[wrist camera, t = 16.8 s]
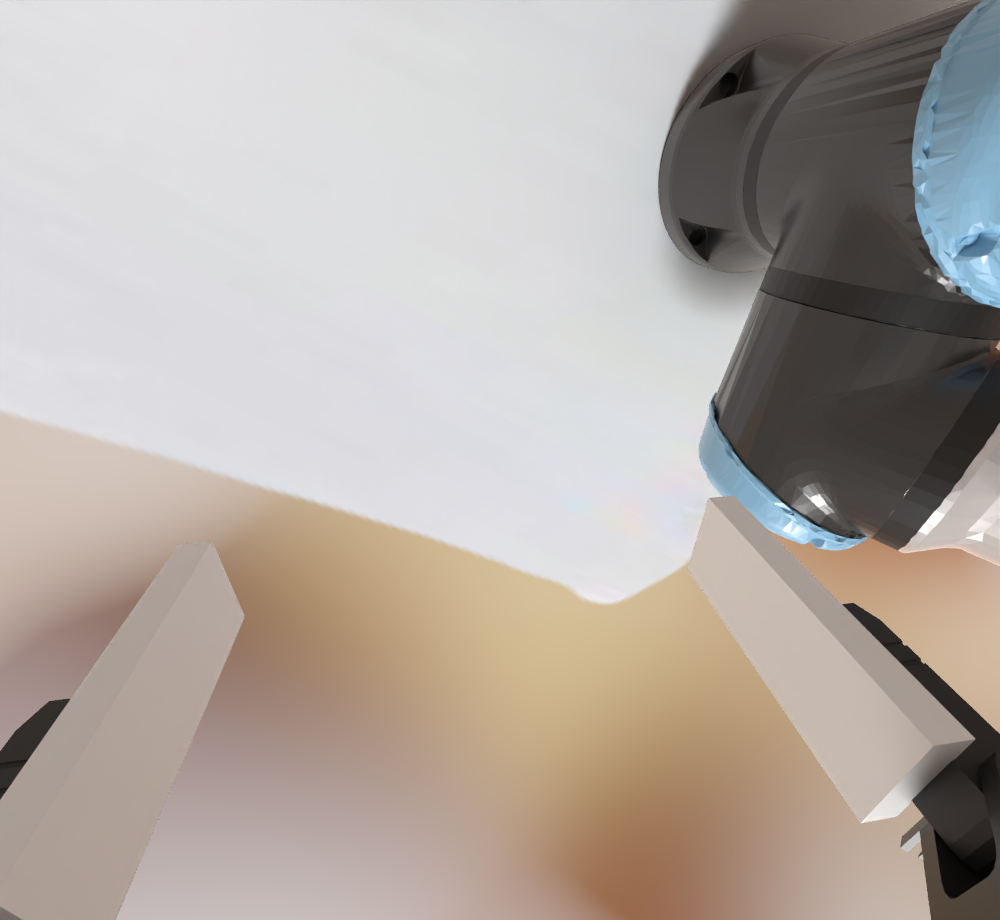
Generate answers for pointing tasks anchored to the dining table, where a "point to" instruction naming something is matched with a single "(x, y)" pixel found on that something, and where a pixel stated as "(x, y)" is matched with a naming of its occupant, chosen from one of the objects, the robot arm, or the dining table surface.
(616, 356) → the dining table surface
